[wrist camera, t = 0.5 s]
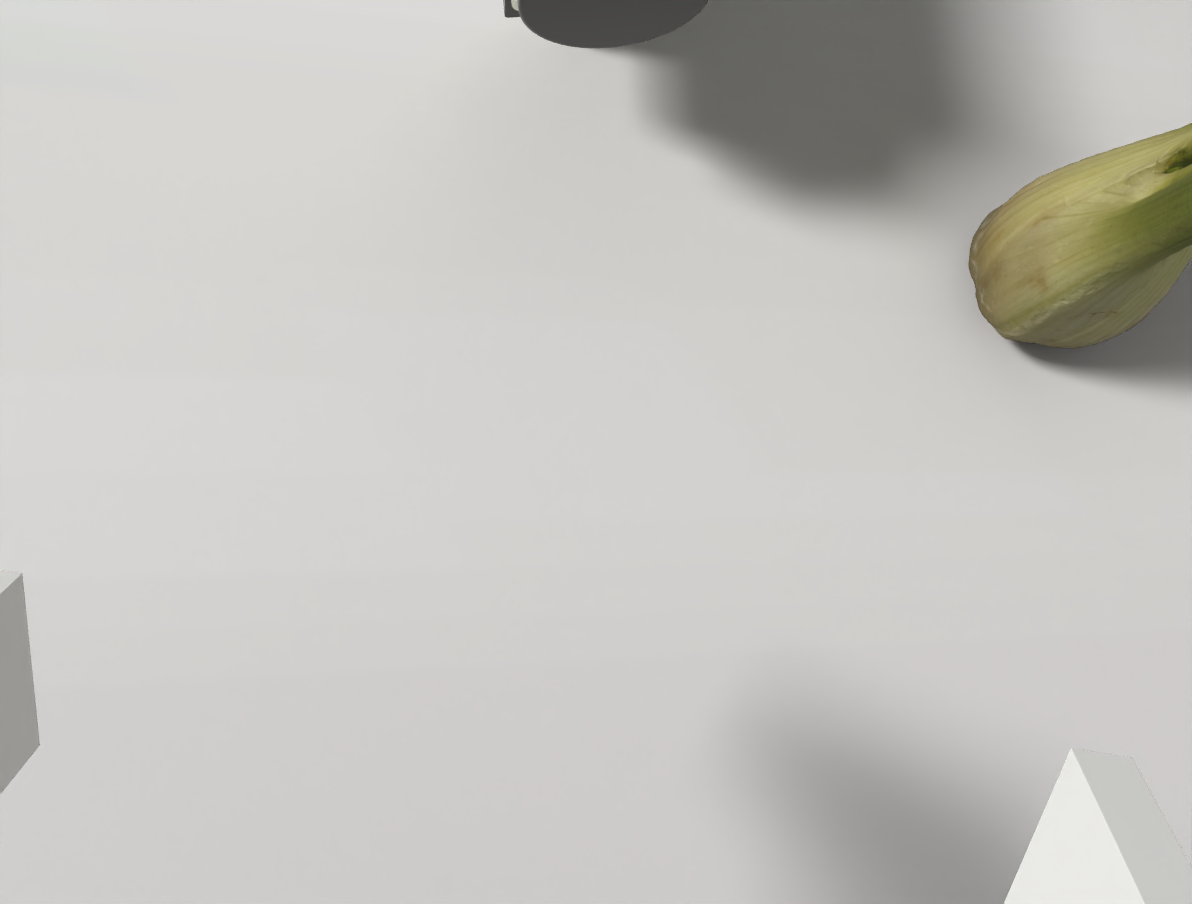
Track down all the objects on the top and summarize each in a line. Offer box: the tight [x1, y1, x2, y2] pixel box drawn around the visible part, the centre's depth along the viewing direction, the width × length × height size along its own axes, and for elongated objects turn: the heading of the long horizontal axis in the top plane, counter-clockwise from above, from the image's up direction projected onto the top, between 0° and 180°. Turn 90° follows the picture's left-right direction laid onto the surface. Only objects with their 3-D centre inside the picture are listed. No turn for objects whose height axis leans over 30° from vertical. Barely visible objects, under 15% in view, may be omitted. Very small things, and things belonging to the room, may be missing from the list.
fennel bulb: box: [969, 123, 1192, 348], centre depth 27 cm, size 6×5×12 cm
